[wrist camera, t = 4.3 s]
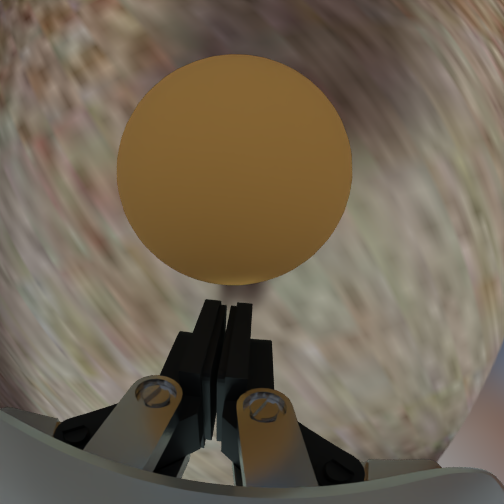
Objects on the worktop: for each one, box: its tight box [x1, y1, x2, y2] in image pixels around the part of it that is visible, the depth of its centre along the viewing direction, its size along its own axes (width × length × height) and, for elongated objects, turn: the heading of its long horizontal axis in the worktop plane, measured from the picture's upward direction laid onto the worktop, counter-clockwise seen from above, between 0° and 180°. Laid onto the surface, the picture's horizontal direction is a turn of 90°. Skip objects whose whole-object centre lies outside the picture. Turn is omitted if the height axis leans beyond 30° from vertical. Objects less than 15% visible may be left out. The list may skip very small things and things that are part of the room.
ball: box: [117, 54, 352, 285], centre depth 7 cm, size 6×6×6 cm
